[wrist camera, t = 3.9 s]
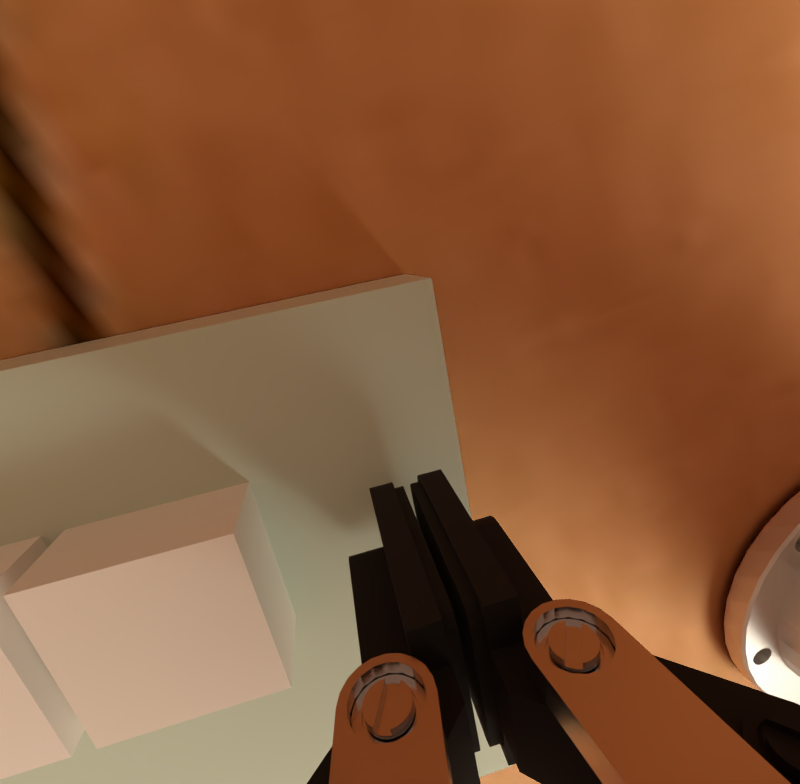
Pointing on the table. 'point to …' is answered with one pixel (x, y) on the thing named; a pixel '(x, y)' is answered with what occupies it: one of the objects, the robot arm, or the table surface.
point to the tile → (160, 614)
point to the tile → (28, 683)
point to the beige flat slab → (236, 464)
